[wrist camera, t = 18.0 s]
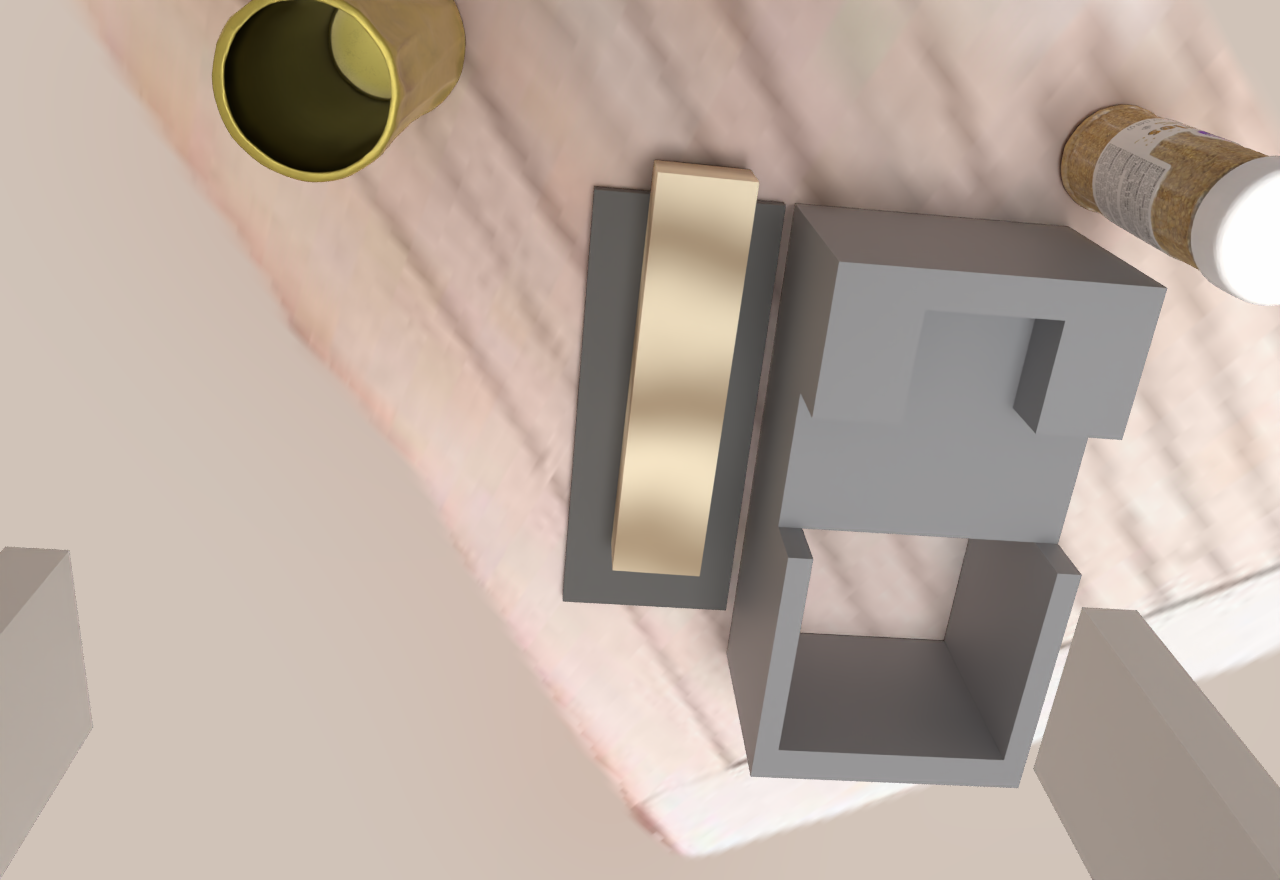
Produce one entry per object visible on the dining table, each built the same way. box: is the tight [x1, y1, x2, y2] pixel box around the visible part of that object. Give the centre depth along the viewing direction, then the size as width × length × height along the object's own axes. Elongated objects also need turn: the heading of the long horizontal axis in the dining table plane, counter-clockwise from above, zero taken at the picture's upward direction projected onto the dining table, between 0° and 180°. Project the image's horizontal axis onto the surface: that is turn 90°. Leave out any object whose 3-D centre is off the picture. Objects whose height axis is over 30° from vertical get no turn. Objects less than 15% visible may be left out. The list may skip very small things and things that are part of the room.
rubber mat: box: [563, 186, 786, 610], centre depth 51 cm, size 20×8×1 cm, turn 175°
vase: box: [212, 0, 465, 182], centre depth 38 cm, size 6×6×14 cm
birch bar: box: [611, 160, 759, 576], centre depth 49 cm, size 18×4×2 cm, turn 174°
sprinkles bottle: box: [1061, 105, 1280, 306], centre depth 41 cm, size 5×5×13 cm
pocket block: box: [727, 204, 1167, 788], centre depth 49 cm, size 23×12×9 cm, turn 175°
